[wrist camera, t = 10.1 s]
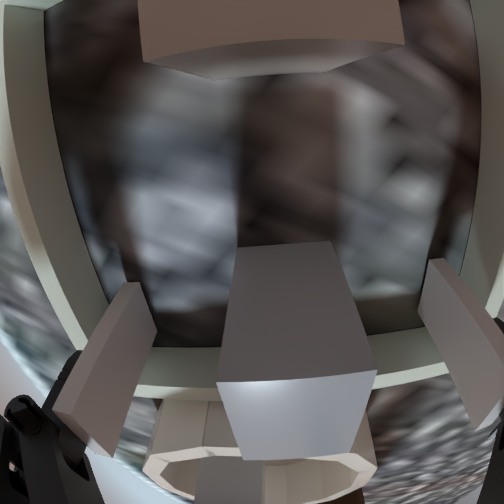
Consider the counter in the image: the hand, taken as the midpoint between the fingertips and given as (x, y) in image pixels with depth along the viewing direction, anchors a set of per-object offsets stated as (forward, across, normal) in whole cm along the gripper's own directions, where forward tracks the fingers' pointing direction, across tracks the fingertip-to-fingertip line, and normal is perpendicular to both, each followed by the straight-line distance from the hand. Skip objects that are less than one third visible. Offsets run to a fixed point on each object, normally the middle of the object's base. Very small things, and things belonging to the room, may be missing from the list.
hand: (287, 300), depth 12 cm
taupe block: (0, 0, +11) cm, 11 cm away
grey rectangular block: (-1, -4, -11) cm, 11 cm away
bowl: (0, -2, -11) cm, 11 cm away
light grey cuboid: (0, 0, 0) cm, 0 cm away
